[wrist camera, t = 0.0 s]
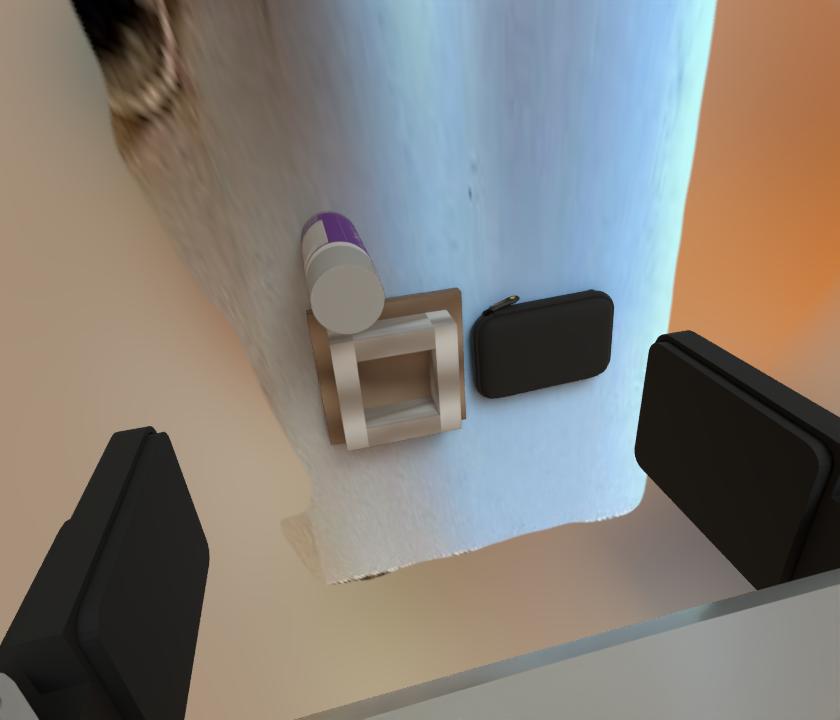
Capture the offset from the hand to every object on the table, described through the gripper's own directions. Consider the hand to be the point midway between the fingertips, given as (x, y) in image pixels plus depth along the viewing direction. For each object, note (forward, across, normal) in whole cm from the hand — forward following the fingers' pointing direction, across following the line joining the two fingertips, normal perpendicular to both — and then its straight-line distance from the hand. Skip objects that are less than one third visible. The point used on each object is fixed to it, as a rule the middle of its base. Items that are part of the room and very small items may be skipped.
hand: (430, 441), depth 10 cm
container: (+37, 0, +5) cm, 37 cm away
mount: (+37, -4, +18) cm, 41 cm away
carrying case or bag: (+37, -19, +18) cm, 46 cm away
